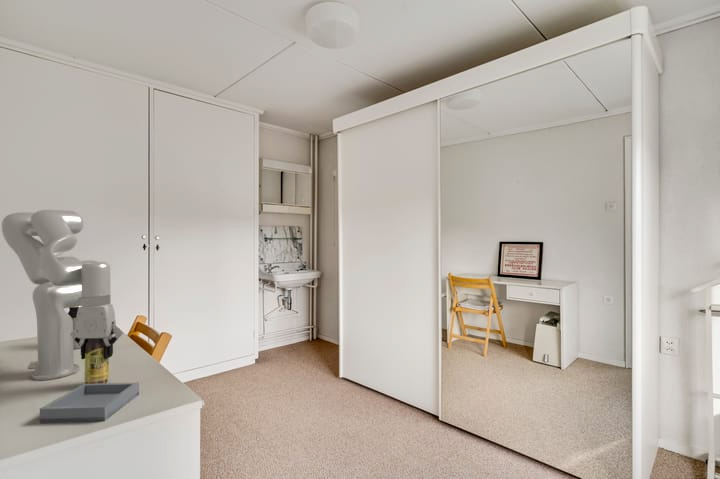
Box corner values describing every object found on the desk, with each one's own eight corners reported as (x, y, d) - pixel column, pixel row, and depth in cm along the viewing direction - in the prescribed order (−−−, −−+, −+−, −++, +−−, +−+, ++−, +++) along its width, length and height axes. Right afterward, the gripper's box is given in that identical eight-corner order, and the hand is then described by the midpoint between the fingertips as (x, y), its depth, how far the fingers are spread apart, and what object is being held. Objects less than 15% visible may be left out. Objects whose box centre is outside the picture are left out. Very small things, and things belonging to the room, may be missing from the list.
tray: (40, 422, 95) (39, 409, 95) (83, 395, 111) (83, 383, 111) (104, 420, 96) (104, 407, 96) (139, 394, 112) (139, 382, 112)
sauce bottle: (90, 390, 115) (88, 325, 114) (80, 385, 118) (79, 322, 118) (113, 382, 120) (112, 321, 120) (103, 378, 124) (102, 318, 123)
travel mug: (82, 349, 156) (81, 306, 156) (63, 349, 157) (62, 306, 156) (96, 343, 164) (95, 302, 164) (78, 343, 165) (77, 302, 164)
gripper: (59, 303, 115) (59, 362, 115) (117, 303, 115) (117, 361, 116) (76, 299, 122) (77, 354, 122) (131, 298, 123) (131, 353, 123)
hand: (97, 357), depth 119 cm, fingers closed on sauce bottle, 6 cm apart
